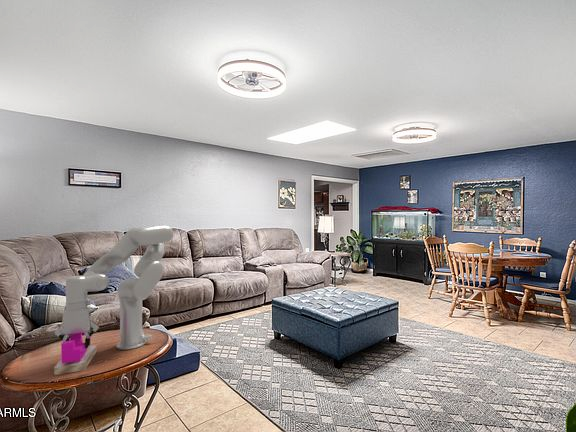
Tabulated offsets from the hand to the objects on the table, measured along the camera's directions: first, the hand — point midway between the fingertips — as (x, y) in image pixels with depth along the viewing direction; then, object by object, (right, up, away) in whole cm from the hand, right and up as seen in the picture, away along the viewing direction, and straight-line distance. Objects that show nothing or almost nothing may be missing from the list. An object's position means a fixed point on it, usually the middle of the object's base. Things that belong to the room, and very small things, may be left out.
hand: (77, 348), depth 131 cm
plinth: (0, -6, 0) cm, 6 cm away
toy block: (+1, -2, -2) cm, 3 cm away
